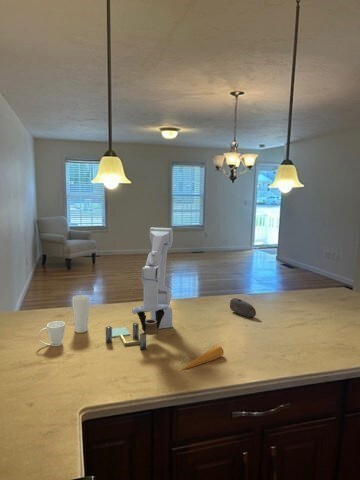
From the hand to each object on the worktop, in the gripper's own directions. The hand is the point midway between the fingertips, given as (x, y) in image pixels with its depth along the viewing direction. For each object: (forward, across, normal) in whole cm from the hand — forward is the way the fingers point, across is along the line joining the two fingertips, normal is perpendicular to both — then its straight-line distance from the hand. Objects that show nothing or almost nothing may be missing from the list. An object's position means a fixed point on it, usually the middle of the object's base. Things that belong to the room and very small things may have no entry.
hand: (150, 328), depth 143 cm
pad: (+5, -10, +13) cm, 17 cm away
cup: (+6, -37, +10) cm, 38 cm away
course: (+5, -10, 0) cm, 11 cm away
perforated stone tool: (+6, +52, +15) cm, 55 cm away
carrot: (+6, +12, -22) cm, 26 cm away
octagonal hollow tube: (+1, 0, 0) cm, 1 cm away
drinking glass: (+6, -25, +20) cm, 32 cm away
